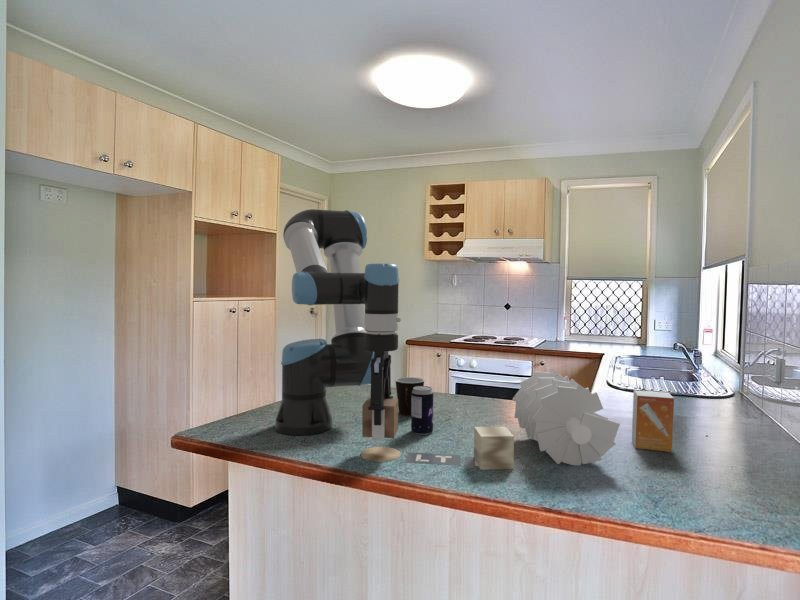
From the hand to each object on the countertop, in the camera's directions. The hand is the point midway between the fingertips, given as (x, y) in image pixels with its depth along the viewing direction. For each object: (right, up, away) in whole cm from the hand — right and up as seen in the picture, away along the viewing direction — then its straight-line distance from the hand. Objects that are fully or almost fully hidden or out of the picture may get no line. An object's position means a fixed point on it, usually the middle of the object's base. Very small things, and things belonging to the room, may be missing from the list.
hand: (381, 433), depth 114 cm
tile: (+12, -5, -2) cm, 13 cm away
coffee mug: (+6, -4, +36) cm, 37 cm away
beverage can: (+10, -5, +17) cm, 21 cm away
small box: (+65, -6, +9) cm, 66 cm away
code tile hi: (+24, -6, -5) cm, 26 cm away
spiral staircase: (+42, -6, +4) cm, 42 cm away
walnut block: (0, 0, 0) cm, 0 cm away
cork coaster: (0, -5, 0) cm, 5 cm away
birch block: (+24, -5, -5) cm, 25 cm away
